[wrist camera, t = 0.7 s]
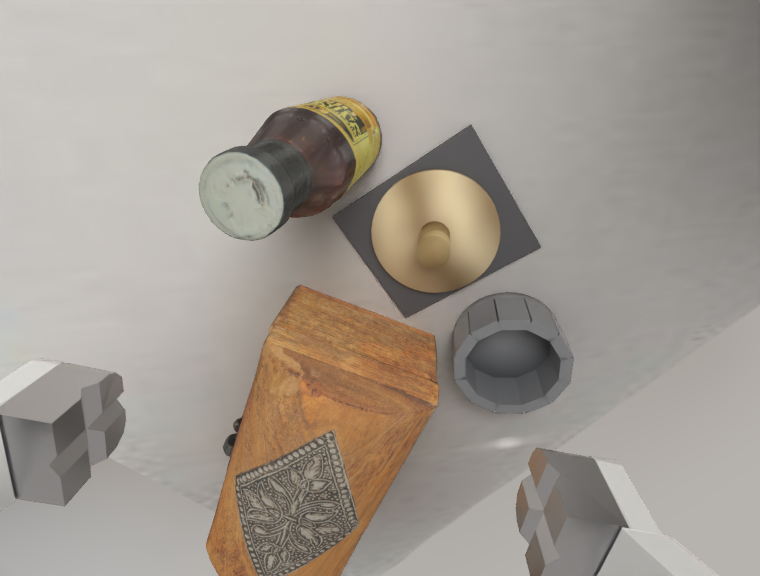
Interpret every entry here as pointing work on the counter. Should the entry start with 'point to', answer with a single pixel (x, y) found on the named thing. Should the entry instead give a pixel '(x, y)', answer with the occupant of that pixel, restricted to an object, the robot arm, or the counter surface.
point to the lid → (436, 230)
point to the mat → (457, 156)
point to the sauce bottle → (290, 167)
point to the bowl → (510, 354)
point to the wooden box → (320, 437)
